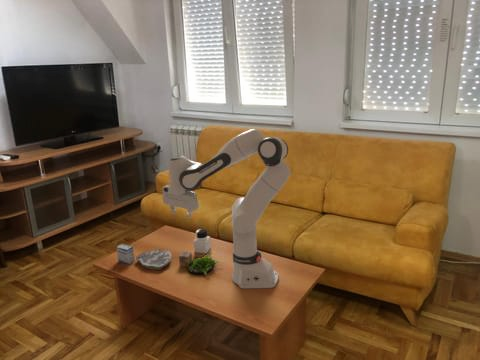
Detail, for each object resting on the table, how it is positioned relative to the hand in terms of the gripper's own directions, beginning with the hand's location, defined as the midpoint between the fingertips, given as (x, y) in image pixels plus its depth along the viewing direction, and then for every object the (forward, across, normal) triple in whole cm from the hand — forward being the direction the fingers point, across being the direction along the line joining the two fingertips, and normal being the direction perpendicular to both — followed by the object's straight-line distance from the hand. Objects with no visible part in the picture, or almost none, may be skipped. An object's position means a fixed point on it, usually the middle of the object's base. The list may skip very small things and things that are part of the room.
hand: (181, 214), depth 206 cm
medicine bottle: (+29, +2, -18) cm, 34 cm away
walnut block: (+29, +1, -2) cm, 29 cm away
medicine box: (+30, +31, +11) cm, 44 cm away
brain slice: (+30, +17, +4) cm, 34 cm away
